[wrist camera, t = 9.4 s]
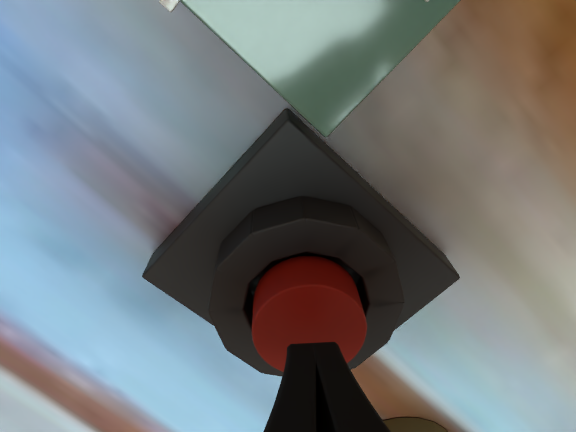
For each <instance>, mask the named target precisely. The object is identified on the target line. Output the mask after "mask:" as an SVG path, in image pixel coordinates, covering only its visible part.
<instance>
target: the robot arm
mask: <svg viewBox="0 0 576 432" xmlns="http://www.w3.org/2000/svg"><path fill="white" fill-rule="evenodd" d="M264 432H391V431H390V430H389V429H388V427H387V426H386V424H385V423H384V422H383V420H382V419H381V418H380V416H379V415H378V413H377V412H376V410H375V409H374V408H373V406H372V405H371V403H370V402H369V400H368V398H367V397H366V395H365V394H364V392H363V391H362V389H361V387H360V386H359V384H358V382H357V381H356V379H355V377H354V376H353V374H352V372H351V370H350V368H349V367H348V365H347V363H346V361H345V359H344V357H343V354H342V352H341V350H340V348H339V345H338V344H337V343H336V342H319V343H299V344H290V345H289V346H288V347H287V356H286V363H285V368H284V372H283V376H282V380H281V384H280V387H279V390H278V394H277V397H276V400H275V403H274V406H273V409H272V412H271V414H270V417H269V419H268V422H267V424H266V427H265V429H264Z"/></svg>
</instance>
